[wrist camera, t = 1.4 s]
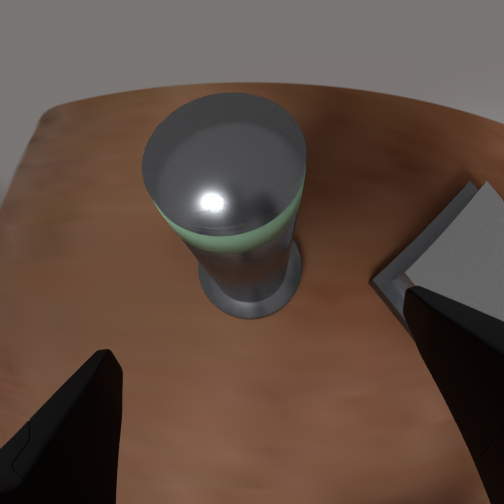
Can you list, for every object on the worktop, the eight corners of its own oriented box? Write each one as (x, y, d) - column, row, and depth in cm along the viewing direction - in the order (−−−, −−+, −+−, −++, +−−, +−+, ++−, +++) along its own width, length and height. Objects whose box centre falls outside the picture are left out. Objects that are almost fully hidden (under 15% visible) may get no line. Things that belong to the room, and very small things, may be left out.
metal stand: (544, 298, 20) (567, 290, 16) (467, 414, 18) (492, 420, 14) (464, 185, 24) (483, 166, 20) (368, 282, 22) (384, 270, 18)
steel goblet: (320, 277, 22) (386, 168, 9) (240, 340, 21) (187, 318, 8) (259, 206, 24) (246, 52, 10) (183, 261, 23) (86, 148, 10)
